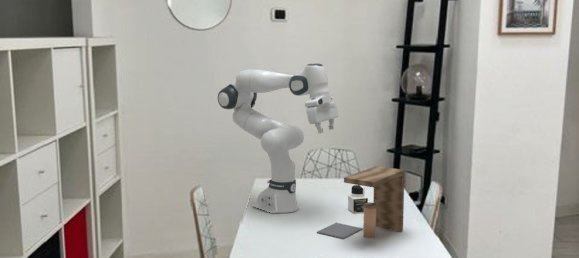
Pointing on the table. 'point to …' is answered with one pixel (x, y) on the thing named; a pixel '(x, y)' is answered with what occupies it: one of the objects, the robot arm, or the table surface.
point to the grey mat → (339, 230)
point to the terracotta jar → (369, 220)
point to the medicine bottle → (357, 199)
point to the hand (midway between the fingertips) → (326, 131)
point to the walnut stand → (384, 194)
